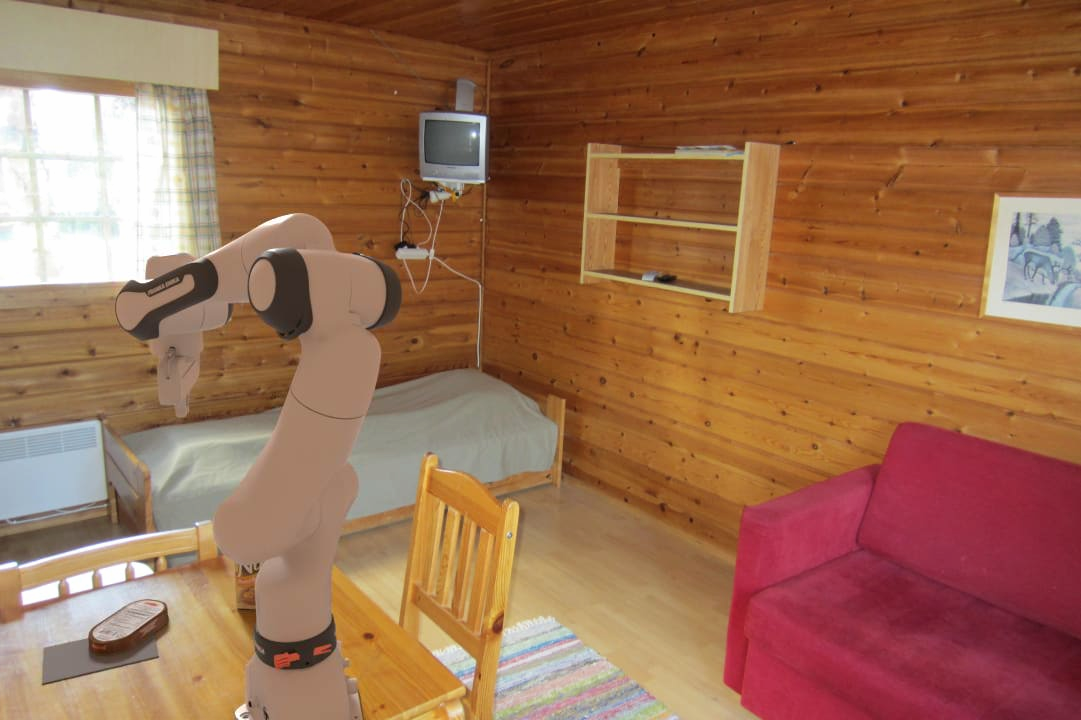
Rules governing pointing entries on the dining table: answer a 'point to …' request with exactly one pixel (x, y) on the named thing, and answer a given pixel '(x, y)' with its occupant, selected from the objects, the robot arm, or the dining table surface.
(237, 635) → the dining table surface
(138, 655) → the felt mat
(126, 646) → the tin
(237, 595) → the candy box
